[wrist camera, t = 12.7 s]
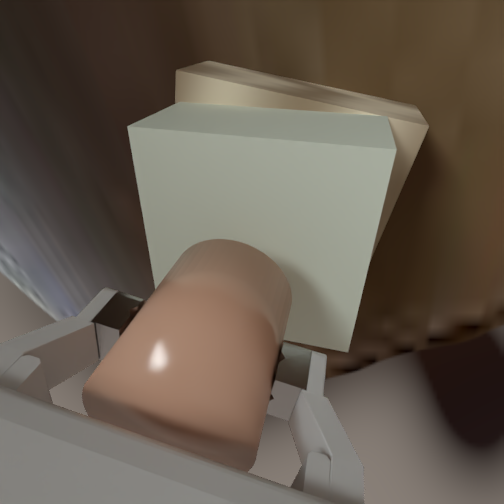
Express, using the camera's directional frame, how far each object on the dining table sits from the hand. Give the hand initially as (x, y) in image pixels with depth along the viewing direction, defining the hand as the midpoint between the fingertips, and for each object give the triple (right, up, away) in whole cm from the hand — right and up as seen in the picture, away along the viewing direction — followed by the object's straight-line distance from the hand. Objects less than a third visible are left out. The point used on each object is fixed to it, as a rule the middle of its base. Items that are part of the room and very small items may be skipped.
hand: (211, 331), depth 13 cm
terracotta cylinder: (+1, +1, +2) cm, 2 cm away
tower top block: (+3, +5, +7) cm, 9 cm away
